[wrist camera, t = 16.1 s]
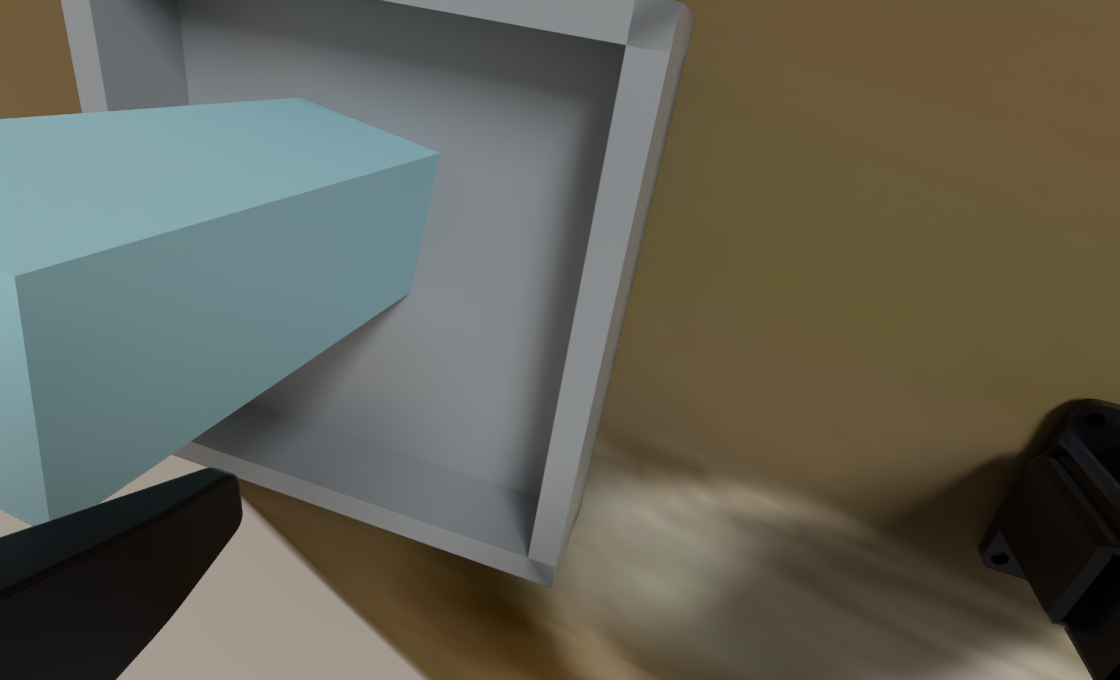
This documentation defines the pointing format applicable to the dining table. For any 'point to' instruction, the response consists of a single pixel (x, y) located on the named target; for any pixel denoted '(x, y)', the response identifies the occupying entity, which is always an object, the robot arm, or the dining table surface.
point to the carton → (181, 275)
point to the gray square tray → (441, 242)
